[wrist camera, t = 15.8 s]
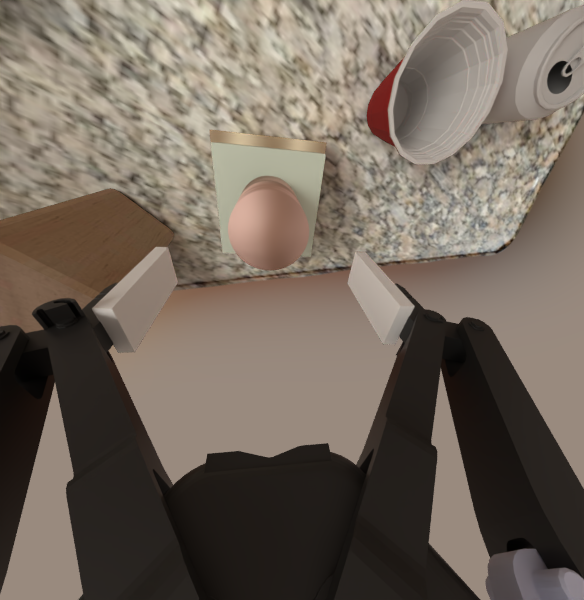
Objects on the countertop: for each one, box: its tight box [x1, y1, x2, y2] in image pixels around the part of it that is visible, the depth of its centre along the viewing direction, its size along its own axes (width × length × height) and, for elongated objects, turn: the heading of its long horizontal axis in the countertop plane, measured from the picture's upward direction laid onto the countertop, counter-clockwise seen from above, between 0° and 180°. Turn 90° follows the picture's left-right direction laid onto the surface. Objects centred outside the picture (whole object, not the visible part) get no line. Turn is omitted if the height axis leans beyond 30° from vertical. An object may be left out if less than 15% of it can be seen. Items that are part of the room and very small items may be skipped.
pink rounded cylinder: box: [228, 176, 309, 270], centre depth 22 cm, size 7×7×9 cm
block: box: [0, 188, 174, 333], centre depth 27 cm, size 10×10×20 cm
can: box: [482, 5, 584, 124], centre depth 24 cm, size 8×8×12 cm
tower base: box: [210, 130, 326, 154], centre depth 32 cm, size 14×14×5 cm
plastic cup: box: [367, 0, 508, 164], centre depth 24 cm, size 11×11×12 cm
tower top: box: [210, 142, 326, 257], centre depth 28 cm, size 12×12×5 cm
